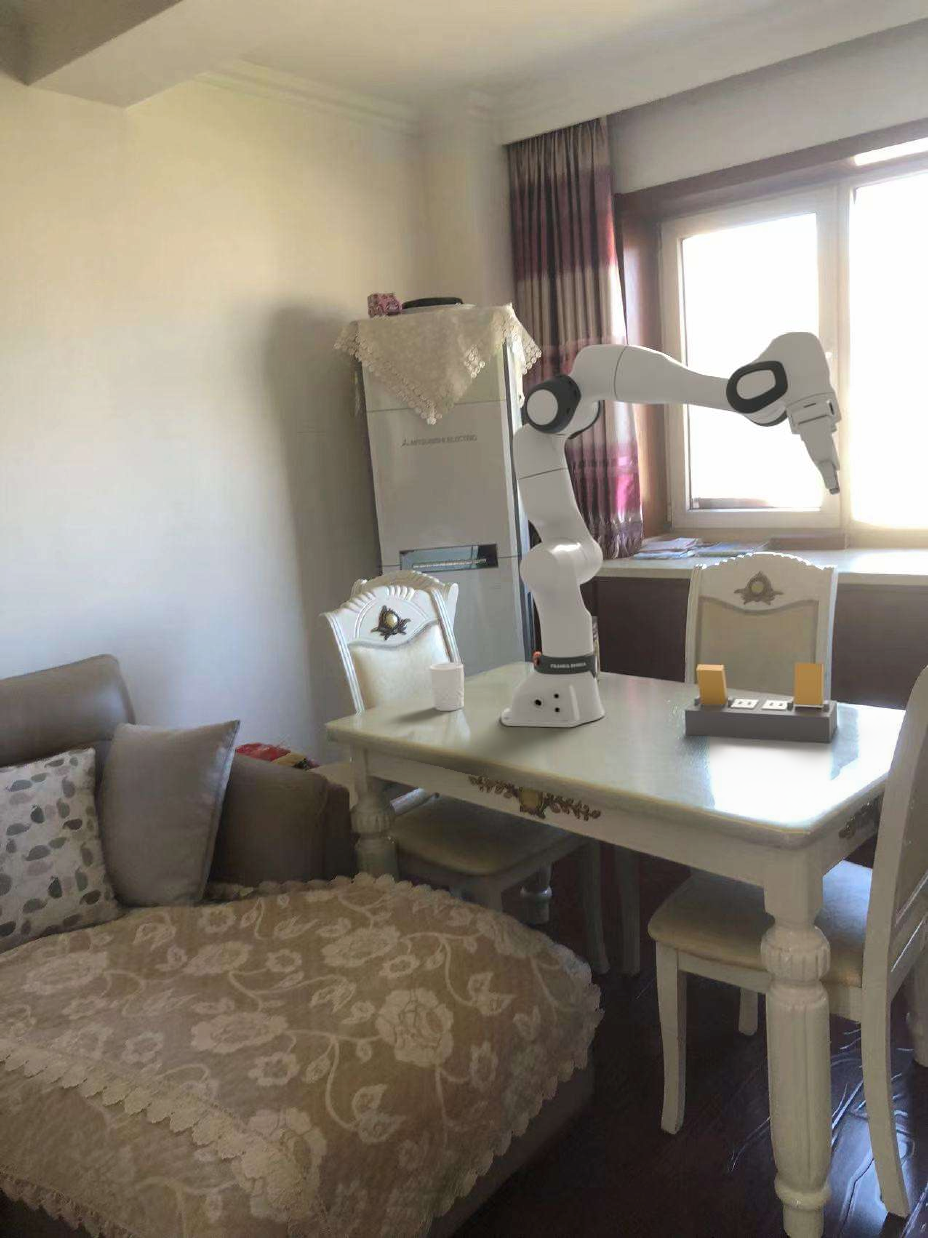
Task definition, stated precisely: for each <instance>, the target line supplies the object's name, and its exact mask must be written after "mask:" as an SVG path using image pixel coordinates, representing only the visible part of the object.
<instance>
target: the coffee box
mask: <svg viewBox="0 0 928 1238" xmlns="http://www.w3.org/2000/svg"><path fill="white" fill-rule="evenodd" d="M591 617H592V632H593V650H594V651H595V652H596V657H597V676H596V681H598V680H599V679H600V680H601V664H600V663H601V662H600V661H601V660H600V644H599V630H598V616H597V615H591ZM600 680H599V681H600ZM599 681H598V682H599Z"/></svg>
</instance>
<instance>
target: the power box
mask: <svg viewBox="0 0 928 1238" xmlns="http://www.w3.org/2000/svg"><path fill="white" fill-rule="evenodd" d="M837 702H838V701H837V700H830V699H829V700H828V699H825V700H824V699H823V706H808V705H795V704H794V698H778V697H761V696H760V697H759V696H758V697H757V696H756V697H755V696H735V695H733V696H731V695H728V700H727V703H726V704H708V703H701V700H700V694H697V695H696V696H694V699H693V701H692V702H691V703H690V704H689V705H688V706H687V707H686V708H685V709H684V720H685V721H684V722H685V724H684V725H685V735H687V736H688V735H689V736H704V737H707V736H708V737H724V738H737V739H738V738H741V739H754V740H755V739H758V740H773V741H791V742H803V743H804V742H806V743H825V744H830V742H831V740H832V739H833V736H834V734H835V731H836V729H837V727H838V703H837Z"/></svg>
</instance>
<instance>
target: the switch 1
mask: <svg viewBox="0 0 928 1238" xmlns="http://www.w3.org/2000/svg"><path fill="white" fill-rule="evenodd" d="M695 671H696V677H697V684H698V691H699V693H698V694H699V695H700V700H701V703H708V704H726V703H727V700H728V696H729V695H728V689H727V681H726V673H725V671H726V670H725V666H724V664H697V667H696V670H695Z"/></svg>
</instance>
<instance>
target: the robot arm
mask: <svg viewBox="0 0 928 1238" xmlns="http://www.w3.org/2000/svg"><path fill="white" fill-rule="evenodd" d="M574 358H575V359H574V362H573V365H572V369H571V371H570V373H569V374H566V373H563V372H561V373H558V374H556V375H554V376H552V377H550V378H547V379H545V380H542V381H540V382H539V383H537V384H535V385H534V386H533V387H532V388H530V389H529V391H528V392H526V395H525V396H524V399H523V405H522V406H523V407H522V411H523V415H524V418H525V420H526V421H527V423H525V424H524V425H522V426H521V427H519V428H518V429H517V430H516V431H515V432H514V434H513V437H512V455H513V466H514V473H515V475H516V476H515V477H516V480H517V485H518V490H519V494H520V498H521V499H520V500H521V503H522V507H523V508H522V509H523V512H524V515H525V518H526V519H527V520H528V521H529V522H530V523H531V524H532V525H533V526H534V529H535V530H536V532H537V534H538V536H539V538H540V540H541V542H540V543H538V544H536V545H535V546H533V547H532V548H530V549H529V550H528V551H527V552H526V553H525V554H524V555H523V557H522V559H521V560H520V562H519V563H520V564H519V574H520V575H519V576H520V578H521V581H522V583H523V585H524V586H525V587H526V588H527V589H528V590H529V591H530V592H531V595H532V598H533V601H534V603H535V607H536V610H537V613H538V619H539V624H540V637H541V651H542V652H540V651H536V652H534V654H533V656H532V660H533V669H534V671H533V672H532V673H530V674H529V675H528V676H527V677H525V679H523V680H522V681H521V682H519V684H517V686H516V687H515V688H514V689H513V692H512V694H511V699H510V706H509V707H507V708H506V709H504V710H503V711H502V713H501V717H500V718H501V723H502V724H503V725H505V726H509V727H546V728H547V727H549V728H574V727H576V726H579V725H582V724H585V723H589V722H592V721H596V720H599V719H601V718H603V717H604V716H605V714H606V712H605V710H604V707H603V704H602V702H601V697H600V693H599V688H598V682H597V681H596V676H597V657H596V652H595V651H594V650H593V632H592V617H591V616H592V615H591V613H590V611H589V610H588V609H587V608H586V606H585V604H584V602H585V601H584V599H583V597H582V593H581V588H580V587H581V585H582V584H585V583H587V582H590V580H591V579H593V578H594V576H596V574H597V573H598V572H599V571H600V570H601V567H602V565H603V561H604V560H603V559H604V555H603V551H602V548H601V546H600V544H599V543H598V542H597V541H596V540H595V539H594V538H593V537H592V535H591V534H590V531H589V529H588V528H587V525H586V523H585V520H584V519H583V517H582V514H581V512H580V510H579V507H578V504H577V501H576V497H575V494H574V488H573V486H572V485H573V484H572V480H571V476H570V472H569V467H568V463H567V458H566V454H565V444H566V442H567V441H568V440H570V441H571V440H573V439H575V438H576V437H578V436H579V435H581V434H582V433H584V432H586V431H587V430H589V429H590V428H592V427H593V426H594V425H595V424H597V422H598V421H599V420H600V418H601V416H602V414H603V413H602V412H603V409H604V407H603V406H604V403H603V401H613V402H620V403H626V404H637V405H691V406H698V407H703V408H704V407H705V408H710V409H715V410H722V411H727V412H732V413H736V414H739V415H741V416H743V417H744V418H746V419H747V420H748V421H750V422H751V423H753V424H755V425H756V426H760V427H767V428H768V427H769V428H771V427H776V426H777V425H779V424H782V423H783V422H784V421H786V420H788V423H789V428H790V431H791V434H793V435H799V436H800V441H802V442H803V443H804V446H805V448H806V451H807V454H808V456H809V458H810V459H811V461H812V463H813V464H814V466H815V467H816V468H817V470H818V471H819V472H820V474H821V477H822V480H823V483H824V487H825V488H826V489H827V490H829V494H830V495H832V496H834V495H838V494H840V493H841V488H840V483H839V478H838V472H837V471H840V470H841V464H840V459H839V456H838V452H837V448H836V445H835V444H836V443H835V441H834V438H833V435H832V434H834V433H836V432H837V431H838V428H837V424H838V423H839V422H840V421H842V419H843V418H842V414H841V413H842V412H841V410H840V409H841V408H840V406H839V403H838V402H839V401H838V398H837V395H836V391H835V390H834V388H833V387H832V384H831V380H830V375H831V373H830V372H831V371H830V367H829V364H828V360H827V357H826V354H825V351H824V349H823V346H822V343H821V341H820V340H819V338H818V337H817V335H815V334H814V333H812V332H810V331H806V330H790V331H787V332H783V333H781V334H778V335H777V336H775V337H774V338H772V340H771V342H770V343H769V344H768V346H767V347H766V348H765V349H764V350H763V351H762V352H761V353H760V354H759V355H758V356H757V357H755V358H754V359H752V360H751V361H749V362H748V363H747V364H744V365H741V366H740V367H738V368H737V369H736V370H735V371H734V372H733V373H732V374H731V375H730V377H726V376H720V375H716V374H715V375H714V374H708V373H703V372H699V371H696V370H694V369H692V368H690V367H687V366H686V365H684V364H682V363H680V362H678V361H677V360H676V359H673V358H672V357H670V356H668V355H667V354H664V353H662V352H660V351H657V350H654V349H651V348H647V347H644V346H639V345H630V344H619V343H618V344H617V343H609V344H608V343H606V344H594V345H587V346H585V347H584V348H582V349H580V351H579V352H578V353H577V354H576V356H575V357H574Z"/></svg>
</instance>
